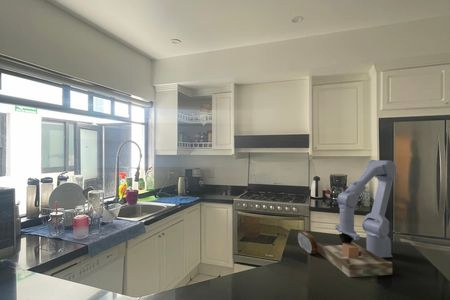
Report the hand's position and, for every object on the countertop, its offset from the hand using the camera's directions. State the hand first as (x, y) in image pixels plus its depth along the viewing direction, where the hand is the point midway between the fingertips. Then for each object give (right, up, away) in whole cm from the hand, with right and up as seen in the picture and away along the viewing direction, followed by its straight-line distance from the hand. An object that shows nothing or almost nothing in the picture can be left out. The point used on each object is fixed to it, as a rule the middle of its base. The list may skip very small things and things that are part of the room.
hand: (346, 250), depth 107 cm
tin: (-15, -4, +9) cm, 18 cm away
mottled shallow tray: (+1, -4, -3) cm, 5 cm away
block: (0, -1, -2) cm, 3 cm away
